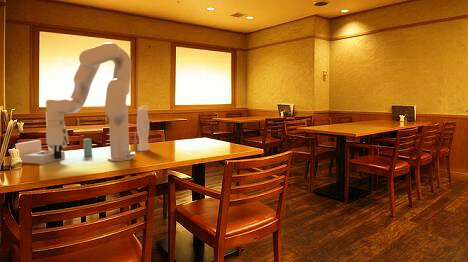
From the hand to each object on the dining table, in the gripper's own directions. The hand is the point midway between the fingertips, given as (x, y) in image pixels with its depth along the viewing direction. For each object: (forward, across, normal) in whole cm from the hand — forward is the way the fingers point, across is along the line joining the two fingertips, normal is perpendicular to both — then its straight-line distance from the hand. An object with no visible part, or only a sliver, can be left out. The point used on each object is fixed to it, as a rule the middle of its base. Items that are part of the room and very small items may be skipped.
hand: (58, 158), depth 165 cm
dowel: (+2, -6, -15) cm, 16 cm away
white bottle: (+2, -28, -39) cm, 48 cm away
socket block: (+2, +9, 0) cm, 9 cm away
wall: (+2, +18, 0) cm, 18 cm away
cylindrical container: (+2, +18, -18) cm, 25 cm away
